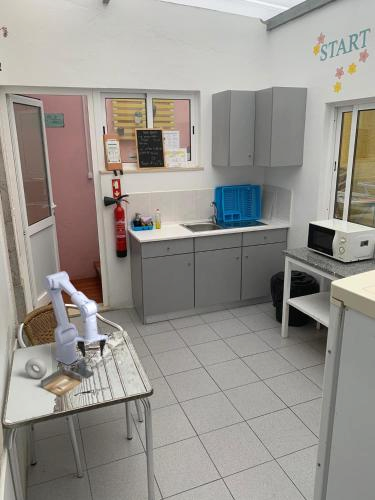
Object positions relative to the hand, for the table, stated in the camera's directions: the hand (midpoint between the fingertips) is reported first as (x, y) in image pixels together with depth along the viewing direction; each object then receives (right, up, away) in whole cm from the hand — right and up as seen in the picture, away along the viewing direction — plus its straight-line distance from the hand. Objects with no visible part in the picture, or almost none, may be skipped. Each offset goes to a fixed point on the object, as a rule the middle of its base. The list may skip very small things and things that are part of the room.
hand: (93, 355), depth 173 cm
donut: (-25, -11, +1) cm, 28 cm away
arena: (-12, -12, -5) cm, 18 cm away
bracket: (-4, -9, +2) cm, 10 cm away
